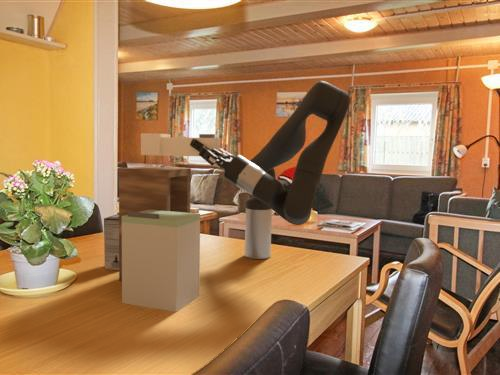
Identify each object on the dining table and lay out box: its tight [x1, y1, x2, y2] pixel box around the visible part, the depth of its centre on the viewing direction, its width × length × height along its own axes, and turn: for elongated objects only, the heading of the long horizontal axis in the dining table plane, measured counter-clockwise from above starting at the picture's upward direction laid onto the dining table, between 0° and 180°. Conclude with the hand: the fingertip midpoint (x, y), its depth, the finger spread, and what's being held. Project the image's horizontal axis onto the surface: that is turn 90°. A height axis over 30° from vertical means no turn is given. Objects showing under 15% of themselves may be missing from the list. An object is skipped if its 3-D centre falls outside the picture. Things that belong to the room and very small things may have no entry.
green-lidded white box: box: [121, 210, 201, 313], centre depth 108 cm, size 12×15×22 cm
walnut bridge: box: [118, 166, 192, 282], centre depth 125 cm, size 14×15×32 cm
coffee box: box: [103, 213, 119, 271], centre depth 137 cm, size 9×6×16 cm
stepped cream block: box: [140, 132, 221, 157], centre depth 120 cm, size 6×22×6 cm, turn 70°
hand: (195, 141), depth 119 cm, fingers closed on stepped cream block, 4 cm apart
